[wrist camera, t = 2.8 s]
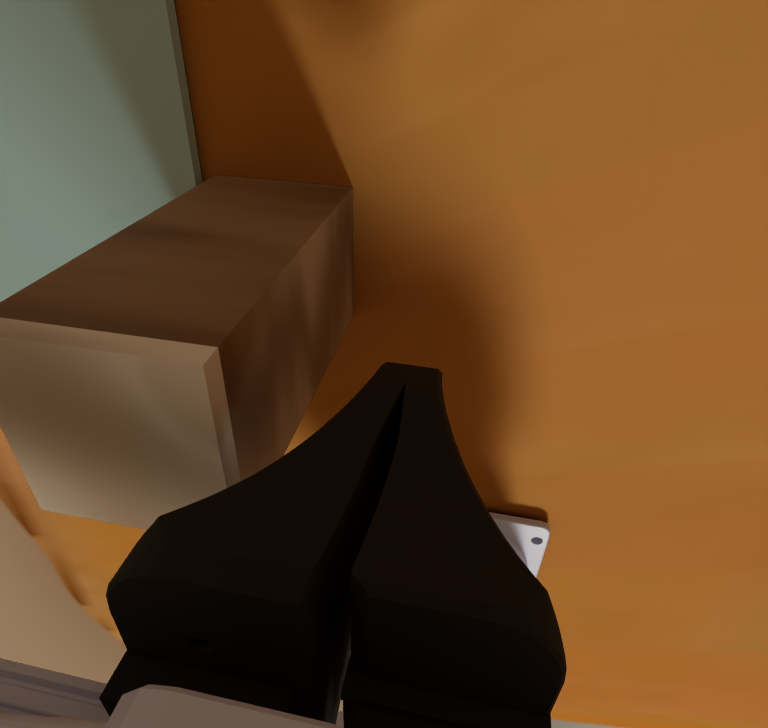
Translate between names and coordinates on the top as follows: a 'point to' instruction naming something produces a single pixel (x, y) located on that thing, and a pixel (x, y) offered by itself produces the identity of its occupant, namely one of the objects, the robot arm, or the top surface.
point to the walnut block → (177, 348)
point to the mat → (87, 127)
